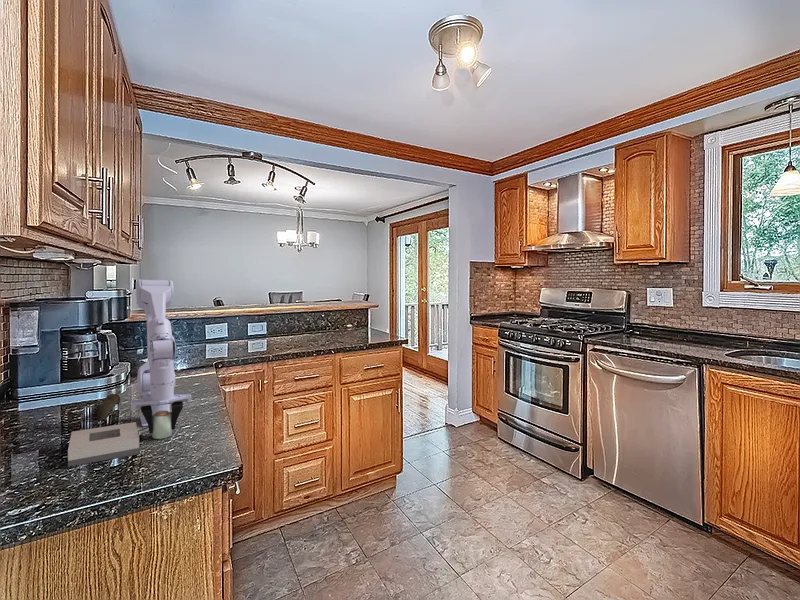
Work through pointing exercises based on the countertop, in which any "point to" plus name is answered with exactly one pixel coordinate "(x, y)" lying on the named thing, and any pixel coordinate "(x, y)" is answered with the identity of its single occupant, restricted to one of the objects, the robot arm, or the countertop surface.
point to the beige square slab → (103, 444)
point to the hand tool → (107, 405)
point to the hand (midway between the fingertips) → (162, 430)
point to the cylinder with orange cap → (162, 424)
